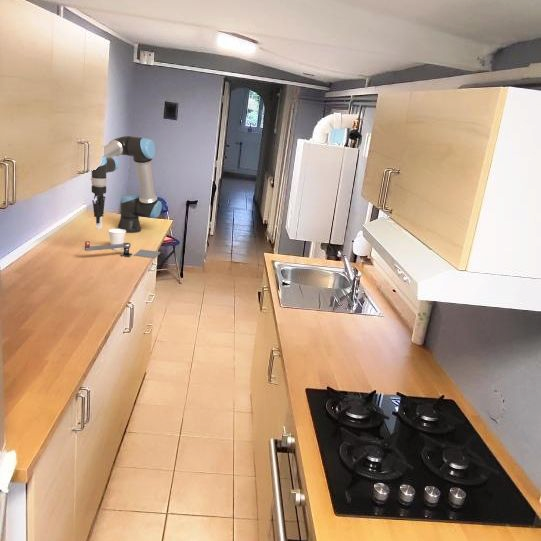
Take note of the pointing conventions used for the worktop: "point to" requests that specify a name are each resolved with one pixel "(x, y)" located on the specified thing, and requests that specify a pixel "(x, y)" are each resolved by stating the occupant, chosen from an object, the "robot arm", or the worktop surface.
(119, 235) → the cup
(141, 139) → the robot arm
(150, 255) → the mat
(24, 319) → the worktop surface
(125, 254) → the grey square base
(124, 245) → the lever
